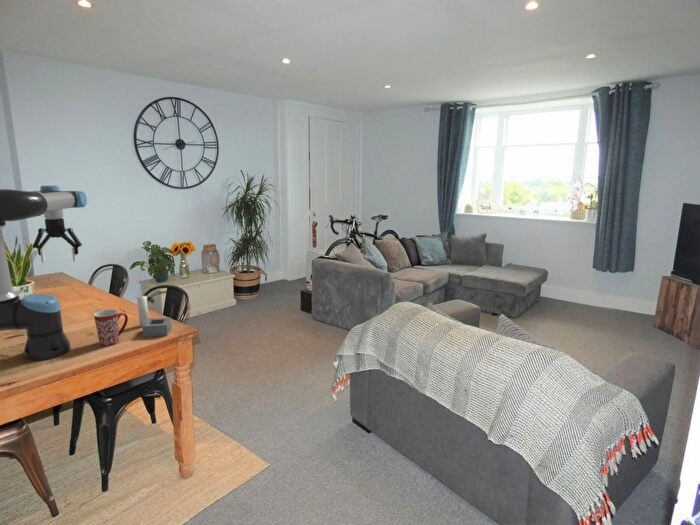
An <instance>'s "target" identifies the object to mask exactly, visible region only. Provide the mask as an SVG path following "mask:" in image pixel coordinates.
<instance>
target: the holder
mask: <svg viewBox="0 0 700 525" xmlns="http://www.w3.org/2000/svg"><path fill="white" fill-rule="evenodd" d="M172 325H173V324H172V317H157V318H155V317H154V318H149V319H147V321H146V322H145V324H144V325H143V326H142V327H141V328H142V336H143V338H150V337H151V338H152V337H153V336H154V337H166V336H165V335H168V336H169V334H170V332H171V330H172V328H173V327H172ZM154 337H153V338H154Z"/></svg>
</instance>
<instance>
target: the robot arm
mask: <svg viewBox="0 0 700 525" xmlns="http://www.w3.org/2000/svg"><path fill="white" fill-rule="evenodd" d="M39 188H40V190H33V191H27V190H20V189H19V190H17V189H7V188H0V332H1V331H12V330H13V331H15V330H17V331H18V330H19V331H20V330H25V331H26V336H27V337H26V342H25V346H24V350H23V354H24V358H25V359H26V360H28V361H43V360H49V359H54V358H57V357H59V356H62V355H65V354H67V353H69V351H70V350H71V349H72V347H71V342H70V340H69V339H68V336H67V335H66V333H65V332H64V328H63V321H62V311H61V305H60V301H59V299H58V297H56V296H55V295H52V294H45V293H36V294H28V295H25V296H23V297H22V298H21V299H20V296H19V292H17V291H16V290H13V285H12V279H11V274H10V269H9V263H8V257H7V252H6V247H5V242H4V241H5V240H4V235H3V231H2V230H3V229H4V227H6V226H7V224H6V222H16V221H21V220H25V219H31V218H35V217H40V216H42V215H43V217H44V218H45V219H44V226H45V228H43V227H40V228H38V231H37V232H38V233H37V236H36V237H35V240H34V242H33V245H32V248H34V249H37V253H38V256H40V259H41V260H40V261H41V263H45V262H47V257H46V251H45V249H46V248H45V247H44V246H45V245H46V243H48V241H49V240H50V239H51V238H53V239H54V238H57V239H59V238H62V239H63V240H64V241H66V243H68V244H69V245H70V246H71V247H72V248H71V252H72V253H71V254H72V261H73V262H76V261H78V255H79V248H80V247H81V246H82V245H83V244H82V242H81V240H79V238H78V237H77V235H76V234H75V233H74V228H72V227H68V228H66V227H65V219H64V211H63V210H65V209H71V208H72V209H74V208H85V207H86V206H87V202H88V200H87V199H88V198H87V195H86V193H85V192H84V191H82V190H81V191H80V190H60V187H59V186H58V185H41V186H40V187H39ZM44 233H46V236H45V237H44V238H43V239H42V237H43V235H44ZM66 233H67V234H68V235H67V234H66ZM69 236H70V237H69ZM41 240H42V241H41Z"/></svg>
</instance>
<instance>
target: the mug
mask: <svg viewBox="0 0 700 525" xmlns="http://www.w3.org/2000/svg"><path fill="white" fill-rule="evenodd" d="M92 316H93V317H94V322H95V327H96V333H97V337H98V338H97V339H98V342H99V345H100V346H102V347H108V346H113V345H116V344H118V343H119V342H120V336H121V335H122V333H123V332H124V330H125V328H126V327H127V325H128V321H129V316H128V315H127V314H126V313H124V312H119V310H117V309H102V310H98V311H96V312H94V313H93V315H92ZM122 316H123V317H124V322H123V324H122V327H121V328H120V329H119V321H120V318H121V317H122Z"/></svg>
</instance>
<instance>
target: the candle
mask: <svg viewBox="0 0 700 525" xmlns="http://www.w3.org/2000/svg"><path fill="white" fill-rule="evenodd" d="M147 298H148V297H147V295H140V296H137V297H136V300H137V312H138V322H139V327H141V328H142V326H143V325H144V324H145V322H146V321H147V319H150V318H149V309H148V299H147Z"/></svg>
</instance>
